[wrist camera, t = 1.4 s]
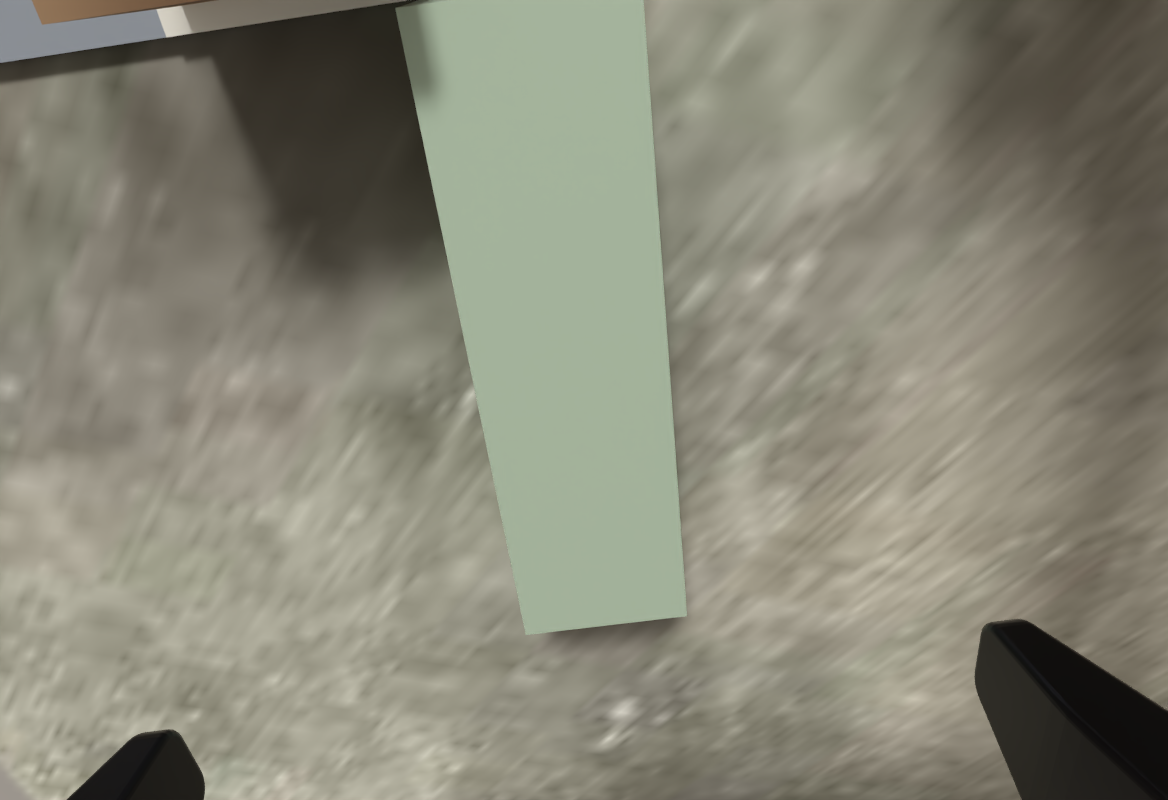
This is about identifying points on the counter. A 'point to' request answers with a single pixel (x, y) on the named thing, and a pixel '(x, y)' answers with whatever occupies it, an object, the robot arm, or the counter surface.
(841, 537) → the counter surface
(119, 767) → the robot arm
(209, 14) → the mat
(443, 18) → the plank
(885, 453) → the counter surface
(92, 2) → the tan wood block
